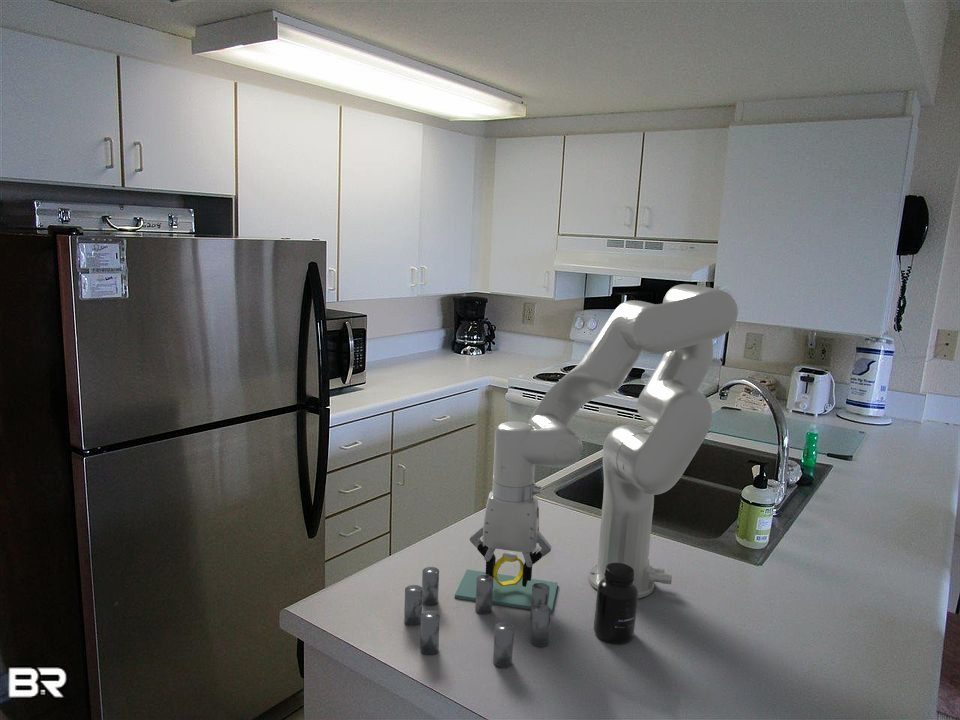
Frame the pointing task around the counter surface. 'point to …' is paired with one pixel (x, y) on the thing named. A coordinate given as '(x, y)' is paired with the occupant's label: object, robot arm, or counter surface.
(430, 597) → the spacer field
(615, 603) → the supplement bottle
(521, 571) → the watch
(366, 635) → the counter surface
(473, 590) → the mat
